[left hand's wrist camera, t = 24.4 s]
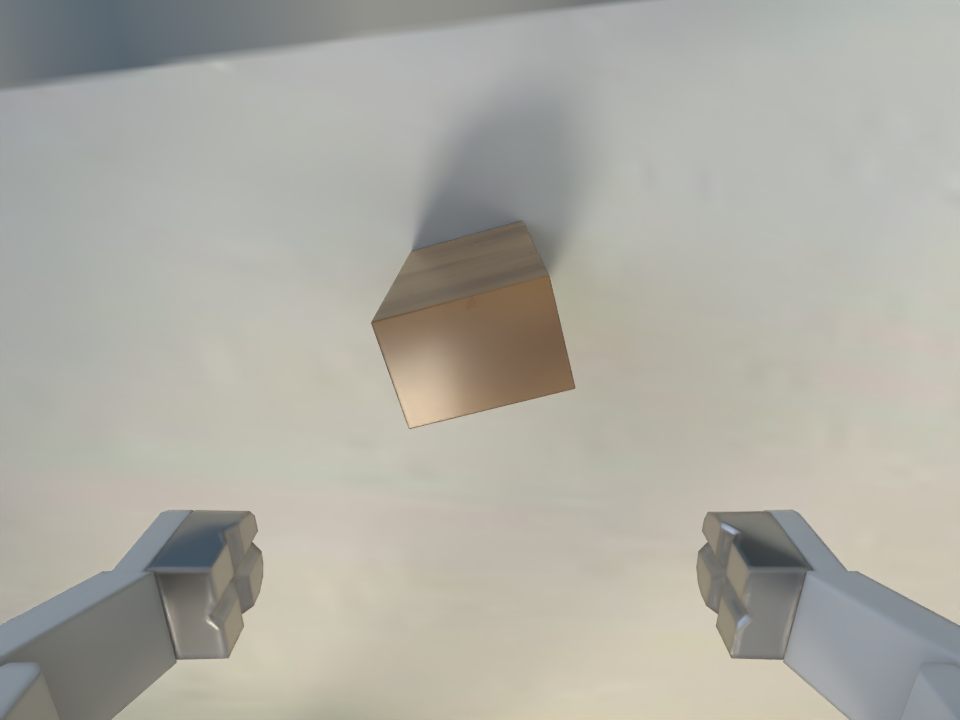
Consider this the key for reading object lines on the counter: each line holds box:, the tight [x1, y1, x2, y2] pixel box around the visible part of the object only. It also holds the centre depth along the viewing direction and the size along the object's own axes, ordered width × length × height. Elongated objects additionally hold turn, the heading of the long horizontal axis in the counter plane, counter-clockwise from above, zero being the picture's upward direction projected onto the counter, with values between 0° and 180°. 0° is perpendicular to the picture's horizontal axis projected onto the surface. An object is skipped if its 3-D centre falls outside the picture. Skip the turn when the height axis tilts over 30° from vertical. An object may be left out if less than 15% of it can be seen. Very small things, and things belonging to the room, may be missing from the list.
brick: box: [371, 221, 575, 429], centre depth 25 cm, size 4×6×12 cm
